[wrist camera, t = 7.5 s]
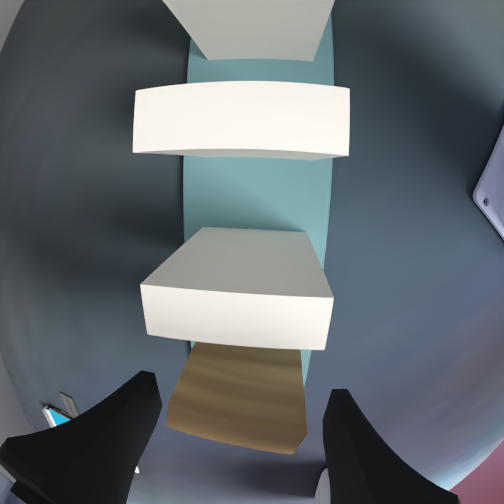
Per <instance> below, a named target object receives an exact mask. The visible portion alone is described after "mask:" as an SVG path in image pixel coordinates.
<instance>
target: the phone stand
mask: <svg viewBox="0 0 504 504" xmlns="http://www.w3.org/2000/svg"><path fill="white" fill-rule="evenodd" d="M60 394H61V396H62V399H63V402H64V404H65V407H66V410H67V412H68V414H67V413H66V412H64V411H62V410H61V412H60V411H58V410H56V409H55V408H53V407H52V408H53V409H54V410H56V411H57V412H56V411H54V410H53V409H51V408H49V407H48V405H46V407H45V408H44V409H43V410H42V411H43V413H44V415H45V417H46V419H47V421H48V423H49V424H50V426H51V428H52V427H55V426H57V425H59V424H62V423H64V422H67V421H69V420H71V419H73V418H75V417H77V416H79V414H78V412H77V411H76V409H75V406H74V403H73V400H72V399H71V398H69V397H68V396H67V398H66V395H64V394H62V393H60ZM67 399H68V401H67ZM68 402H69V404H70V406H69V404H68ZM70 407H71V408H70ZM42 408H43V407H42ZM135 472H136V473H139V470H138V467H136V470H135Z"/></svg>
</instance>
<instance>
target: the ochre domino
mask: <svg viewBox="0 0 504 504" xmlns="http://www.w3.org/2000/svg"><path fill="white" fill-rule="evenodd" d="M167 427H168V428H171V429H175V430H178V431H181V432H184V433H188V434H191V435H195V436H198V437H202V438H206V439H210V440H214V441H218V442H222V443H226V444H231V445H236V446H241V447H246V448H251V449H257V450H263V451H269V452H276V453H284V454H293V453H294V452H295V450H296V449H297V448H298V446H299V445H300V443H301V442H302V441H303V439H304V438H305V436H306V435H307V423H306V409H305V396H304V384H303V372H302V361H301V351H300V349H279V348H262V347H248V346H236V345H225V344H215V343H206V342H197V341H195V343H194V346H193V348H192V350H191V352H190V355H189V357H188V359H187V361H186V364H185V366H184V368H183V370H182V373H181V375H180V377H179V379H178V382H177V384H176V386H175V389H174V391H173V393H172V395H171V398H170V400H169V402H168V412H167Z"/></svg>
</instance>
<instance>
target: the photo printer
mask: <svg viewBox="0 0 504 504" xmlns="http://www.w3.org/2000/svg"><path fill="white" fill-rule="evenodd" d="M314 504H330V483H329V476H328V469H327V468H326V469H324V471H323V472H322V474H321V477H320V479H319V483H318V486H317V490H316V493H315V500H314Z"/></svg>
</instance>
